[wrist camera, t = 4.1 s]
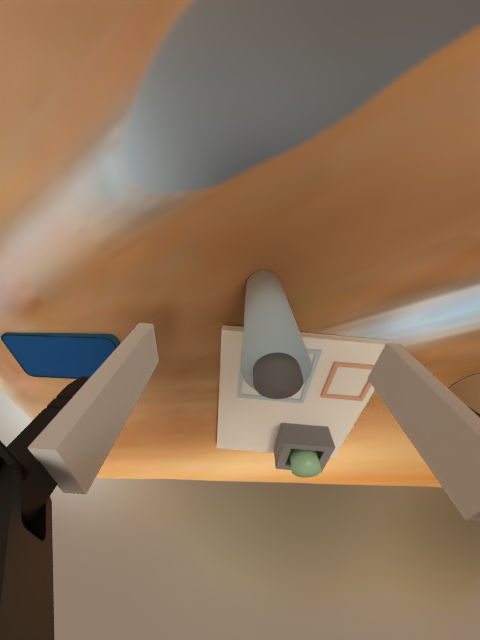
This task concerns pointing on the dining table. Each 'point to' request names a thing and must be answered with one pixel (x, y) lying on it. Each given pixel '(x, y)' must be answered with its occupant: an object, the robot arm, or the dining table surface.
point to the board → (297, 398)
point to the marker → (272, 340)
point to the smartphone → (60, 353)
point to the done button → (304, 463)
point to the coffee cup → (468, 391)
